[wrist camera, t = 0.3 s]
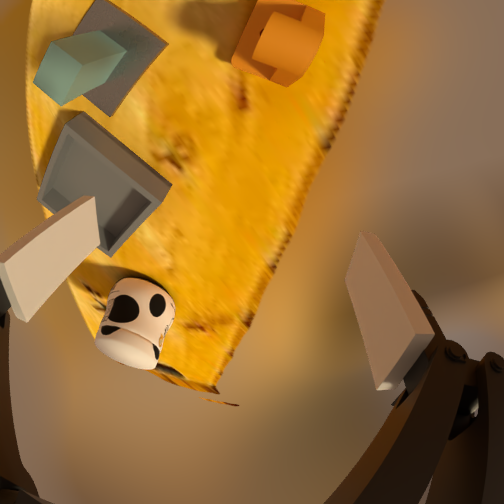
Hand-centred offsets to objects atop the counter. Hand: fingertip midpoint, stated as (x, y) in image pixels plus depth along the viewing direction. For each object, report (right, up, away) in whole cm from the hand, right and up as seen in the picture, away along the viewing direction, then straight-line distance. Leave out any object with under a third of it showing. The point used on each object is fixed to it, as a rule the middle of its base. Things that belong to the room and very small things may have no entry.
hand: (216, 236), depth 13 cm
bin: (-25, +11, +31) cm, 41 cm away
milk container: (-25, -11, +54) cm, 61 cm away
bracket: (+5, +25, +13) cm, 29 cm away
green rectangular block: (-19, +26, +14) cm, 35 cm away
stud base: (-19, +27, +14) cm, 36 cm away
